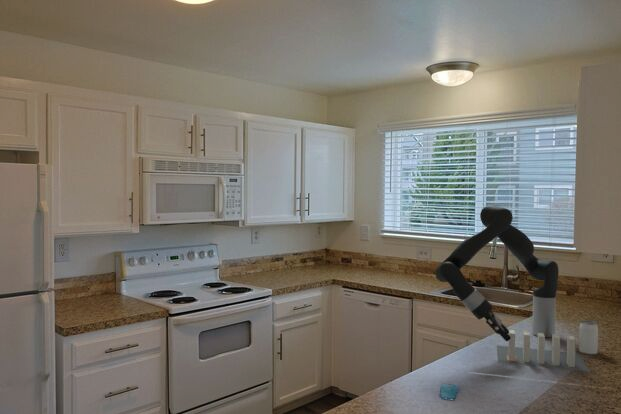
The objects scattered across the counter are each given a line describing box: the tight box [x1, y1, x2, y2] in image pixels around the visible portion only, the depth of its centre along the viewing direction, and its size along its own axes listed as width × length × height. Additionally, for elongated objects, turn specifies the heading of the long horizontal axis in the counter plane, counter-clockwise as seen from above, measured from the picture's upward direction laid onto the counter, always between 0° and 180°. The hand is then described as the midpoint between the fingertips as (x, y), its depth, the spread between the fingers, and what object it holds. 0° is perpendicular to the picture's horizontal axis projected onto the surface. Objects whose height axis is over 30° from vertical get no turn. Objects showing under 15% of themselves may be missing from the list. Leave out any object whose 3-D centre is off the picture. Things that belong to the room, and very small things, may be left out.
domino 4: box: [551, 333, 561, 365], centre depth 189 cm, size 5×2×10 cm, turn 161°
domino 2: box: [522, 331, 531, 362], centre depth 193 cm, size 5×2×10 cm, turn 161°
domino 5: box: [566, 334, 576, 367], centre depth 188 cm, size 5×2×10 cm, turn 161°
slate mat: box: [496, 344, 590, 373], centre depth 196 cm, size 22×30×1 cm
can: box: [578, 320, 599, 355], centre depth 204 cm, size 6×6×12 cm
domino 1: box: [508, 329, 516, 361], centre depth 194 cm, size 5×2×10 cm, turn 161°
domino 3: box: [536, 333, 546, 364], centre depth 191 cm, size 5×2×10 cm, turn 161°
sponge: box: [439, 383, 460, 401], centre depth 162 cm, size 2×12×6 cm
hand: (508, 336), depth 194 cm, fingers open, 8 cm apart
